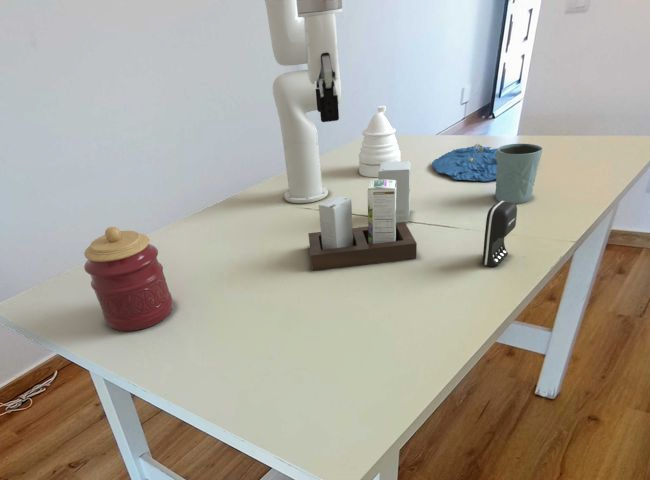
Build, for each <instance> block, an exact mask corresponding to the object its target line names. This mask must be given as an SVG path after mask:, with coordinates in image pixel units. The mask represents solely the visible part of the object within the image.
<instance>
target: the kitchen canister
mask: <svg viewBox="0 0 650 480" xmlns="http://www.w3.org/2000/svg"><path fill="white" fill-rule="evenodd" d="M150 242H151V241H150V238H149V236H147V235H146V234H143V233H139V232H138V231H134V230H120V229H119V228H118V227H116V226H109V227H107V228H106V229H105V231H104V235H101V236H99V237H97V238H95V239H94V240H93V241H92V242H91V243H90V245H89V246H88V247H87V248H85V250H84V252H83V254H84V255H83V256H84V258H85V259H87V260H86V261H85V262H84V266H83V269H84V271H85V272H86V274H88V275H90V278H91V281H90V287H91V288H92V290H93V291H94V294H95V297H96V299H97V301H98V303H99V305H100V308H101V311H102V316H103V318H104V321H106V323H107V324H108V327H110V328H112V329H113V330H117V331H121V332H133V331H139V330H143V329H147V328H149V327H153V326H155V325H157V324H159V323H160V322H162V321H164V320H165V319H166V318H168V317H169V316H170V315H171V313H172V311H173V308H174V305H173V297H172V293H171V291H170V290H169V287H168V283H167V280H166V276H165V273H164V266H163V264H162V263H161V262H159V260H158V254H159V249H158V248H157V247H156V246H155V245H153V244H150Z"/></svg>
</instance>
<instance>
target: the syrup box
mask: <svg viewBox="0 0 650 480" xmlns="http://www.w3.org/2000/svg"><path fill="white" fill-rule="evenodd" d="M367 226H368V244H376V243H385V242H393V241H396V181H395V180H378V179H374V180H370V181H368V187H367Z"/></svg>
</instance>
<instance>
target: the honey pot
mask: <svg viewBox="0 0 650 480" xmlns="http://www.w3.org/2000/svg"><path fill="white" fill-rule="evenodd" d="M377 111H378V112H376V113H374V115H373V116H372V117H371V119H370V120H369V123H368V125H367V128H365V129H364V130H363V131H362V132H361V134H362V136H363V140H362V143H361V147H360V152H359V154H358V171H359V175H361V176H363V177H368V178H378V171H379V167H380V164H381V163H383V162H398V161H402V159H401V157H402V156H401V154H402V152H401V150H400V148H399V144H398V140H397V138H396V134H395V133H396V131H397V129H396V128H395V127H393V126H392V125H391V123H390V121H389V120H388V118H387V116H385V113H386V111H387V105H379V106H377Z"/></svg>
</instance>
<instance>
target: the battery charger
mask: <svg viewBox="0 0 650 480" xmlns="http://www.w3.org/2000/svg"><path fill="white" fill-rule="evenodd" d="M517 215H518V206H517V204H514V203H512V202H505V201H497V202H495V203H494V205H492V206H491V207H490V208H489V209H488V211H487V214H486V219H485V221H486V222H485V230H484V239H483V252H482V259H481V264H482V265H484V266H491V267H498V266H499V265H500V264H501V263H502V262H503V261H504V260H505V259H506V258H507V257H508V255H509V253H508V251H507V248H506V246H505V244H506V243H505V238H506V237H507V236H508V235H509V234H510V233H511V232H512V231H513V230H514V229H515V227H516V226H517V217H518V216H517Z"/></svg>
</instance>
